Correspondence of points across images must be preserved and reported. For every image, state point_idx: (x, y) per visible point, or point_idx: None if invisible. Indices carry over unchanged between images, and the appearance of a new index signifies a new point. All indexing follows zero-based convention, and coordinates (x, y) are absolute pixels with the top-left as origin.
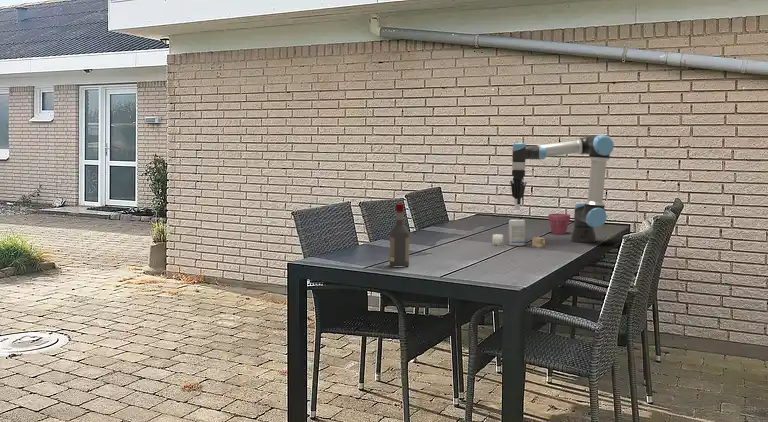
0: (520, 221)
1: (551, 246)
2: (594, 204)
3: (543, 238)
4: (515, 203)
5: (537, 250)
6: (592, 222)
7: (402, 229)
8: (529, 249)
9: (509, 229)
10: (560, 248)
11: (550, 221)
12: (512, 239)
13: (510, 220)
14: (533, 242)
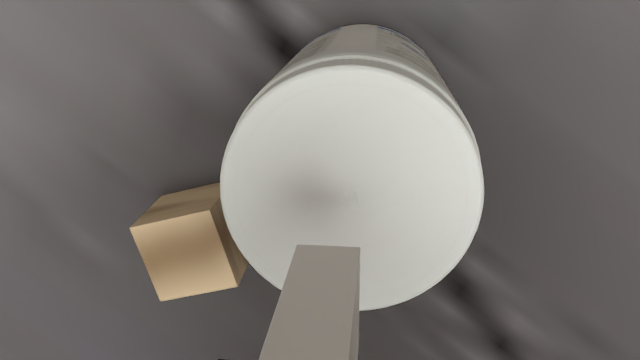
0: (222, 168)
1: (175, 310)
2: None
3: (153, 282)
4: (317, 347)
5: (4, 63)
6: None
7: None
8: (74, 34)
9: (381, 43)
10: (63, 299)
11: None
12: (327, 35)
13: (371, 75)
14: (210, 196)
